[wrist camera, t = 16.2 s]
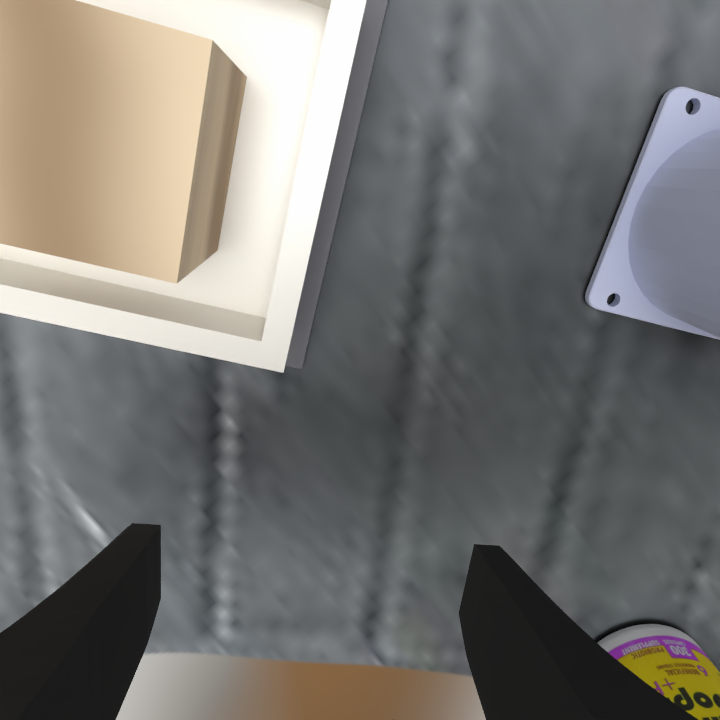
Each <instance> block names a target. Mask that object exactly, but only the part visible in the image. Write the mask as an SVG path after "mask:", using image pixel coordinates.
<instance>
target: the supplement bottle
mask: <svg viewBox="0 0 720 720" xmlns="http://www.w3.org/2000/svg"><path fill="white" fill-rule="evenodd" d="M598 644H599V645H600V646H601V647H602V648H603V649H605V650H606V651H607V652H608V653H609V654H610V655H612V656H613V657H614V658H615V659H616V660H618V661H619V662H620V663H621V664H623V665H624V666H625V667H627V668H628V669H629V670H630V671H632V672H633V673H634V674H635V675H637V676H638V677H639V678H640V679H642V680H643V681H644V682H646V683H647V684H648V685H650V686H651V687H652V688H654V689H655V690H656V691H658V692H659V693H661V694H662V695H663V696H665V697H666V698H668V699H669V700H671V701H672V702H673V703H675V704H676V705H678V706H679V707H681V708H682V709H683V710H685V711H686V712H688V713H689V714H691V715H692V716H694V717H695V718H697V719H698V720H720V672H719V671H718V670H717V668H716V667H715V666H714V665H713V663H712V662H711V661H710V659H709V658H708V657H707V655H706V654H705V653H704V652H703V650H702V649H701V648H700V647H699V646H698V644H697V643H696V642H695V641H694V640H693V639H692V638H690V637H689V636H688V635H686V634H685V633H683V632H682V631H680V630H678V629H675V628H673V627H669V626H665V625H660V624H641V625H635V626H631V627H627V628H624V629H621V630H618V631H616V632H614V633H612V634H610V635H608V636H606V637H605V638H603V639H602V640H600V641H599V642H598Z"/></svg>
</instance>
